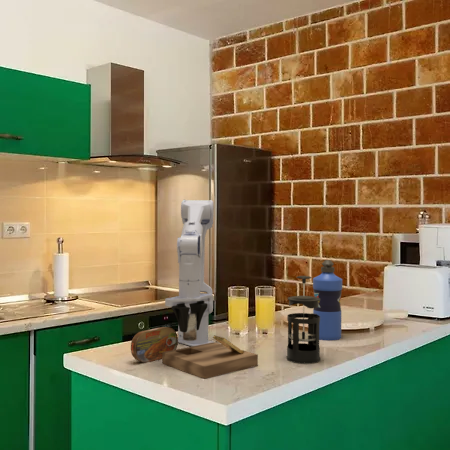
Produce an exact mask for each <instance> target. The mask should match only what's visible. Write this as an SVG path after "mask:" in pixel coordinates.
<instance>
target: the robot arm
mask: <svg viewBox="0 0 450 450" xmlns="http://www.w3.org/2000/svg"><path fill="white" fill-rule="evenodd" d="M180 203H181V204H180V217H181V220H182V221H181V222H182V224H183V225H182V229H181V234H180V235H181V236H180V237H177V240H176V252H177V263H178V295H176V296H173V297H167V298H165V300H164V306H165V307H168V308H171V310H172V311H173V313H174V315H175V319H176V321H177V323H178V325H177V326H178V329H177V331H178V333H177V337H178V344H179V343H180V344H182V345H186V346H188V347H192V346H197V345H202V344H207V343H213V342H214V340H210V339H209V314H211V313H212V312H214V311H213V309H214V295H213V293H214V291H213V289H212V287H211V286H210V285H208V284H207V283H206V282H205V255H206V253H205V252H206V235H207V232H208V230H210V229H211V228H213V225H214V217H215V215H214V214H215V206H214V203H215V202H214V200H212V199H210V200H207V199H202V200H201V199H194V200H193V199H192V200H191V199H183V200H182V201H181V202H180ZM189 312H196V313H197V339H196V340H193V341H186V340H183V332H186V331H187V318H188V313H189Z"/></svg>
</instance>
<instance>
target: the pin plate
mask: <svg viewBox="0 0 450 450" xmlns="http://www.w3.org/2000/svg"><path fill="white" fill-rule="evenodd" d="M243 351H244V353H243V354H240V353H237V352H233V351H231V350H229V349H228V348H226V347H225V346H224V345H222V344H221V343H219V342H215V341H213V343H207V344H202V345H197V346H187V347H183V348H177V349H176V350H171V351H166V352H162V359H161V360H162V361H161V362H162V364H163V365H166V366H168V367H171V368H174V369H177V370H180V371H182V372H185V373H187V374H191V375H193V376H195V377H198V378H201V379H208V378H213V377H218V376H223V375H226V374H229V373H233V372H239V371H242V370H246V369H251V368H254V367H258V365H259V364H258V363H259V361H258V360H259V358H258V357H259V354H257V353H253V352H251V351H246V350H243Z"/></svg>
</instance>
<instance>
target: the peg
mask: <svg viewBox="0 0 450 450" xmlns="http://www.w3.org/2000/svg"><path fill="white" fill-rule="evenodd" d="M196 339H197V313H196V312H189V313H188V318H187V331H186V332H183V340H186V341H193V340H196Z"/></svg>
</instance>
